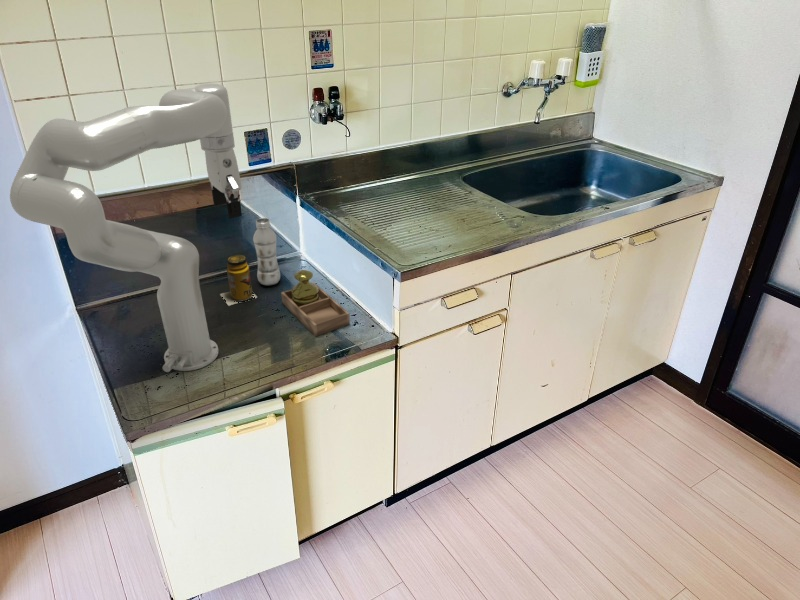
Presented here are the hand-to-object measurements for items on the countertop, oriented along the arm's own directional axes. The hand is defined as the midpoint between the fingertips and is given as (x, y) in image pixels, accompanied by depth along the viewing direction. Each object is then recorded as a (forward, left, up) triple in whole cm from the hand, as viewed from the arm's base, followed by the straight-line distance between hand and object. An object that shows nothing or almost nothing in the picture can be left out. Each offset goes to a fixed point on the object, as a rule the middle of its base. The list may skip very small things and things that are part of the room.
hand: (227, 210), depth 147 cm
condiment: (+9, +5, -31) cm, 32 cm away
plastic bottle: (+18, -1, -31) cm, 35 cm away
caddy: (+4, -19, -30) cm, 36 cm away
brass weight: (+7, -15, -30) cm, 34 cm away
